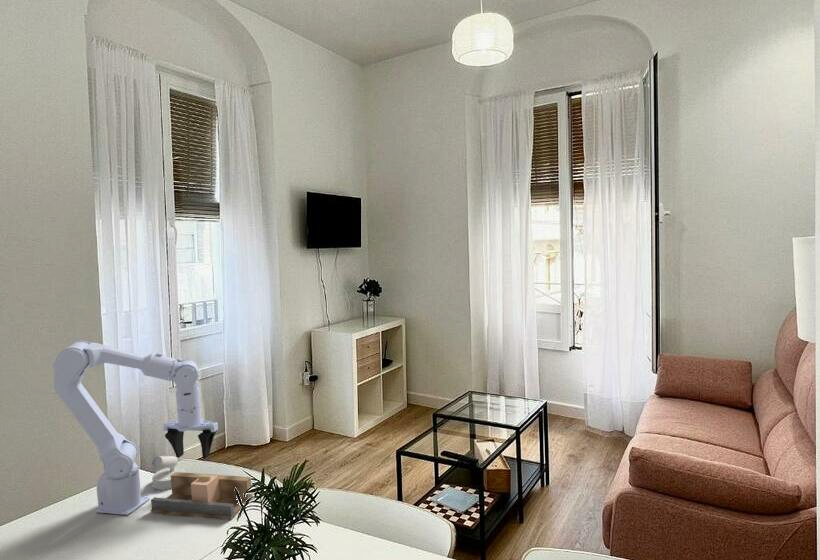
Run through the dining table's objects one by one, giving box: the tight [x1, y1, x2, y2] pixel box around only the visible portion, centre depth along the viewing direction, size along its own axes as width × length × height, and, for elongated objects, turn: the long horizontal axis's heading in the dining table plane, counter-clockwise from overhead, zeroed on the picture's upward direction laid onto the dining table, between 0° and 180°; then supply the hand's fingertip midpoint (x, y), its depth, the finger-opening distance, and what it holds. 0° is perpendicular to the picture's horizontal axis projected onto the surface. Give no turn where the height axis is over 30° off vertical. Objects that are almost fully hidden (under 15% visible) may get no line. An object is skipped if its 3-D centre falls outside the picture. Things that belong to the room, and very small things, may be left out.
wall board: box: [150, 472, 253, 521], centre depth 130 cm, size 22×10×6 cm, turn 78°
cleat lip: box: [150, 496, 234, 516], centre depth 126 cm, size 22×1×2 cm, turn 78°
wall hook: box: [151, 455, 187, 491], centre depth 143 cm, size 9×10×10 cm
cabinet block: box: [191, 474, 220, 502], centre depth 130 cm, size 4×5×7 cm
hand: (193, 456), depth 136 cm, fingers open, 7 cm apart
